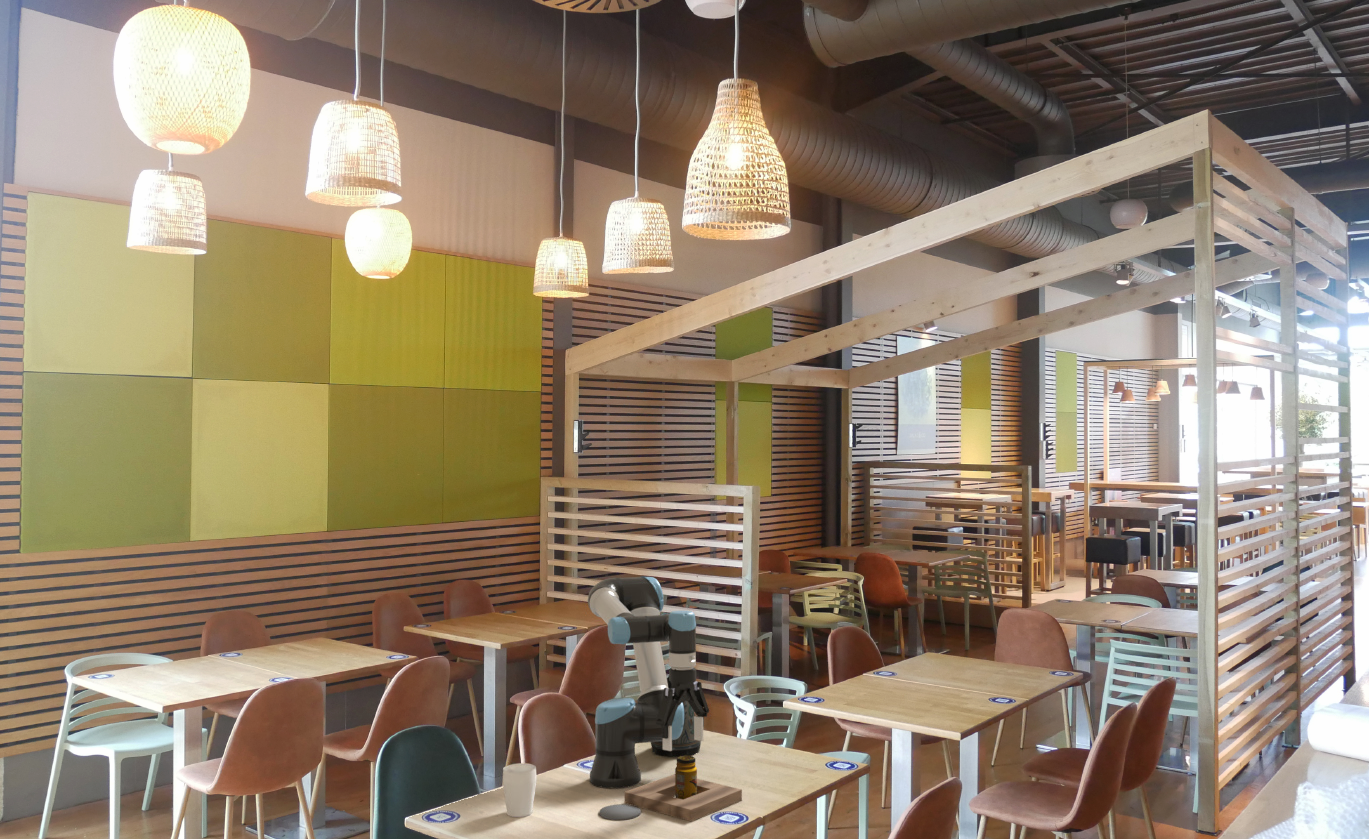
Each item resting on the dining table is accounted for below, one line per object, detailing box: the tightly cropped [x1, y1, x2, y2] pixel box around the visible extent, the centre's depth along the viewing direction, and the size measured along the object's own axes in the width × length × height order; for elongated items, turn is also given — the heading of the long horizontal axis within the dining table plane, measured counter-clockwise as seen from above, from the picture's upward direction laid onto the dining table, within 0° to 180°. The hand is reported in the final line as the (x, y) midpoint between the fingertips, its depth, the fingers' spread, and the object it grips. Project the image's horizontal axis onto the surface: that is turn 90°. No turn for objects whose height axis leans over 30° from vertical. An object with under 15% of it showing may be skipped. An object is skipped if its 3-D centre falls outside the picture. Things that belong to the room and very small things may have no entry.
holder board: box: [623, 773, 743, 822], centre depth 283 cm, size 24×22×3 cm
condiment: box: [674, 755, 698, 800], centre depth 284 cm, size 7×8×12 cm
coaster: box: [598, 803, 642, 821], centre depth 274 cm, size 11×11×1 cm
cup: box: [502, 762, 538, 818], centre depth 275 cm, size 9×9×12 cm
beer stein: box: [650, 675, 702, 758], centre depth 335 cm, size 16×19×25 cm
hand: (683, 744), depth 284 cm, fingers open, 13 cm apart
